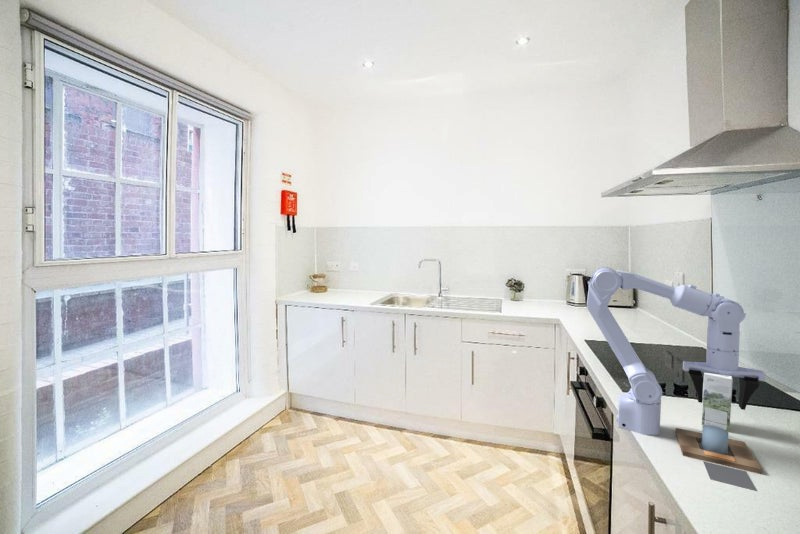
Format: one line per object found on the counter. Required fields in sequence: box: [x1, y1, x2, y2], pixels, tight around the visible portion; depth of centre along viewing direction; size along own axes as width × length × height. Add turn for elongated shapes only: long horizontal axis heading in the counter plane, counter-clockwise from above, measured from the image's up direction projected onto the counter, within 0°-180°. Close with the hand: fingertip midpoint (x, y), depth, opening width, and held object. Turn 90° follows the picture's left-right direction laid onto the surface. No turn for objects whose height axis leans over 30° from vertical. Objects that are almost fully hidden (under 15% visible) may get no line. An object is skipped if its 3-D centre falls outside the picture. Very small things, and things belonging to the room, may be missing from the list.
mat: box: [702, 460, 758, 492], centre depth 74 cm, size 7×7×1 cm
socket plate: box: [674, 427, 763, 475], centre depth 83 cm, size 13×12×2 cm
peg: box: [701, 425, 729, 455], centre depth 83 cm, size 4×4×6 cm
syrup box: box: [701, 373, 733, 433], centre depth 96 cm, size 6×6×14 cm
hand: (720, 404), depth 86 cm, fingers open, 7 cm apart
